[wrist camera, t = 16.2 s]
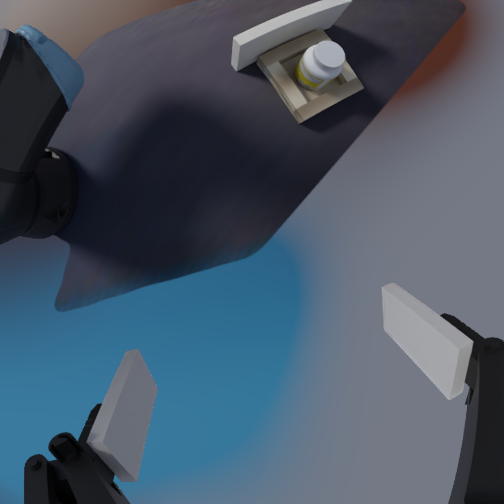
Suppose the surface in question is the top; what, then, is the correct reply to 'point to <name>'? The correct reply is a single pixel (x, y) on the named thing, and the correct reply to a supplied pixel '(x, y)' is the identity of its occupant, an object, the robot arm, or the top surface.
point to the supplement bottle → (319, 65)
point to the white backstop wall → (284, 30)
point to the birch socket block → (295, 97)
